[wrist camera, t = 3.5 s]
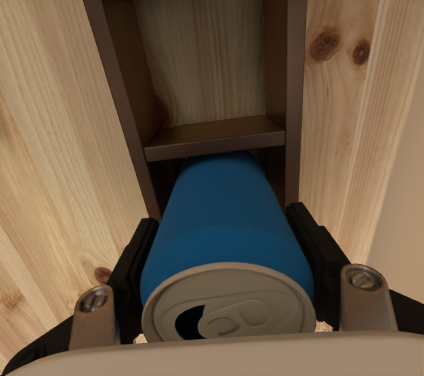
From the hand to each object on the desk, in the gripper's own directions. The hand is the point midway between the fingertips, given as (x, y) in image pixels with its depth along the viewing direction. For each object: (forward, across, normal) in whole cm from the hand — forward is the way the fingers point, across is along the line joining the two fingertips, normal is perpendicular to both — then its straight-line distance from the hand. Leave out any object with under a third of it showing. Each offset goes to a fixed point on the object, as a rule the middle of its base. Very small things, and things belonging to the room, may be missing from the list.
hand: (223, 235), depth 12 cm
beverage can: (+7, 0, 0) cm, 7 cm away
